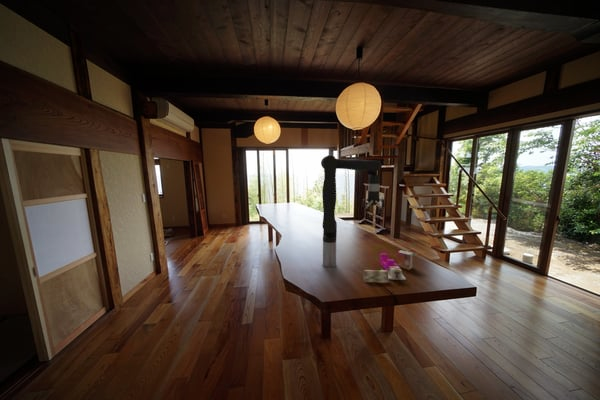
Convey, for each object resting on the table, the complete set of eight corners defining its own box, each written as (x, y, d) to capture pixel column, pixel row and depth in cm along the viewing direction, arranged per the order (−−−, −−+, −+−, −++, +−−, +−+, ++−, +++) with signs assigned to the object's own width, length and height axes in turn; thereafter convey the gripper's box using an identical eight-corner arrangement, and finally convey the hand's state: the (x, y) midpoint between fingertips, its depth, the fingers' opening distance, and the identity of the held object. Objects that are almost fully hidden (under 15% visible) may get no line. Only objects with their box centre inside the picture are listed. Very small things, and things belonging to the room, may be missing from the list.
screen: (364, 281, 123) (364, 272, 122) (363, 279, 125) (363, 269, 125) (389, 282, 121) (389, 273, 120) (387, 280, 124) (387, 270, 123)
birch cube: (388, 274, 129) (392, 279, 124) (389, 266, 129) (392, 270, 123) (397, 274, 129) (401, 279, 123) (398, 266, 128) (401, 270, 123)
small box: (397, 266, 142) (397, 252, 141) (399, 264, 146) (400, 249, 145) (409, 270, 137) (410, 254, 136) (412, 267, 141) (413, 252, 140)
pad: (385, 279, 125) (385, 277, 125) (380, 270, 136) (380, 269, 136) (405, 280, 124) (406, 278, 124) (399, 271, 135) (399, 270, 135)
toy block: (398, 272, 132) (398, 260, 131) (388, 272, 132) (388, 260, 132) (389, 263, 147) (389, 253, 146) (380, 263, 147) (380, 253, 147)
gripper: (364, 190, 139) (363, 214, 141) (386, 190, 137) (385, 214, 139) (362, 190, 146) (361, 212, 148) (382, 190, 145) (382, 212, 147)
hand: (373, 213), depth 144 cm, fingers open, 8 cm apart
